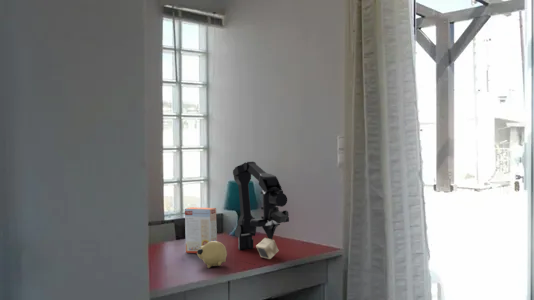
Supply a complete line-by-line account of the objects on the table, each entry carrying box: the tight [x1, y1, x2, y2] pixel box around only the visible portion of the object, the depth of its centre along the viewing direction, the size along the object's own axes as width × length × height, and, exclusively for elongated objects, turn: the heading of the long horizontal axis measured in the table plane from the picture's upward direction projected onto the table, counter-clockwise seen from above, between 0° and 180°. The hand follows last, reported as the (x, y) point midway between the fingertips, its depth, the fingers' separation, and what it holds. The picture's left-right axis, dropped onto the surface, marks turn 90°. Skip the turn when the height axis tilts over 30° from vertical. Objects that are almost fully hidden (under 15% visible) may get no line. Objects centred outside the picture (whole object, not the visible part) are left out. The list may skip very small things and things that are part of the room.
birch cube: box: [255, 237, 280, 260], centre depth 219 cm, size 6×6×6 cm
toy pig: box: [196, 240, 228, 269], centre depth 207 cm, size 10×12×11 cm
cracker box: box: [184, 206, 218, 254], centre depth 235 cm, size 14×6×21 cm, turn 65°
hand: (270, 240), depth 220 cm, fingers closed
